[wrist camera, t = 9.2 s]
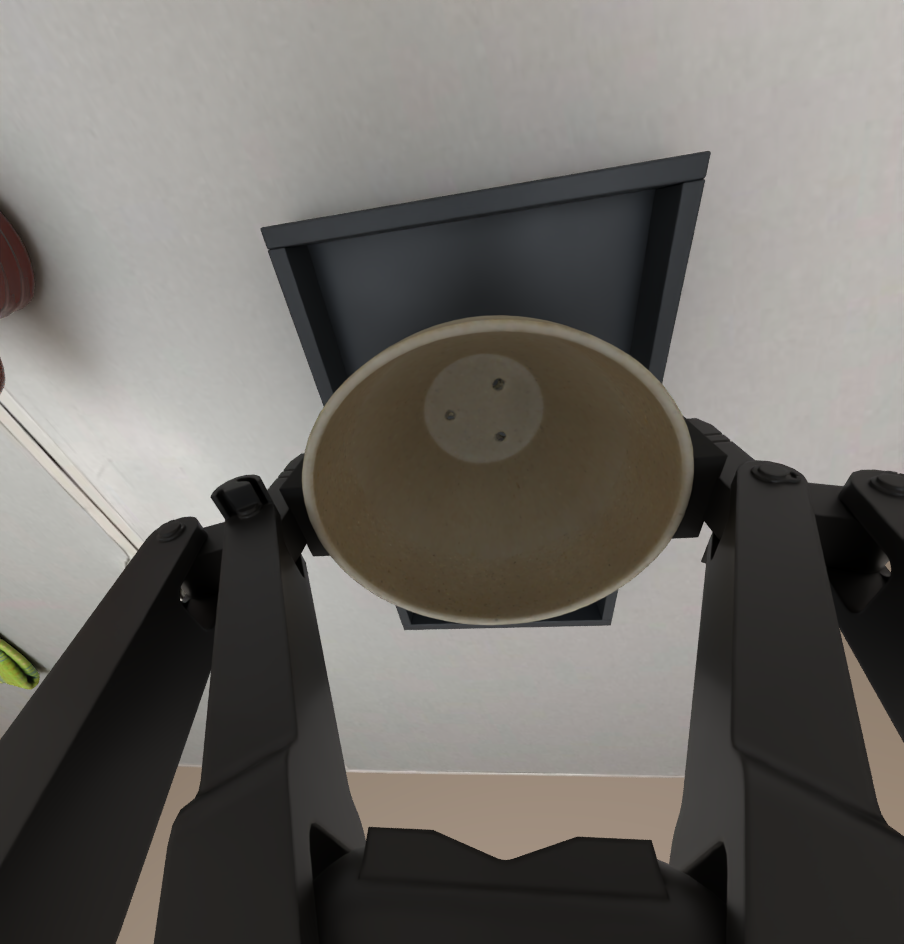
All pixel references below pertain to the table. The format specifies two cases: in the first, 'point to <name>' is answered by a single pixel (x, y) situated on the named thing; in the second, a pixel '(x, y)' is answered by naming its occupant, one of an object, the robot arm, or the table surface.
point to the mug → (13, 275)
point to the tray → (497, 276)
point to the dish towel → (16, 668)
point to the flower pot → (497, 471)
